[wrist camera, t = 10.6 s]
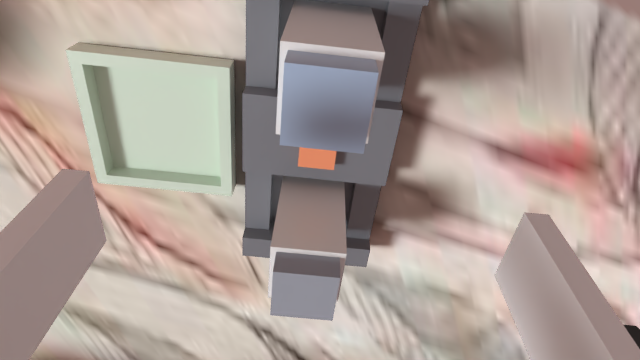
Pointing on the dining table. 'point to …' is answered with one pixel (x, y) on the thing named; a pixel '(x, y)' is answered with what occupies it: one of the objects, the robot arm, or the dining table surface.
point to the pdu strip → (284, 157)
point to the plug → (328, 76)
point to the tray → (157, 117)
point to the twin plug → (308, 248)
